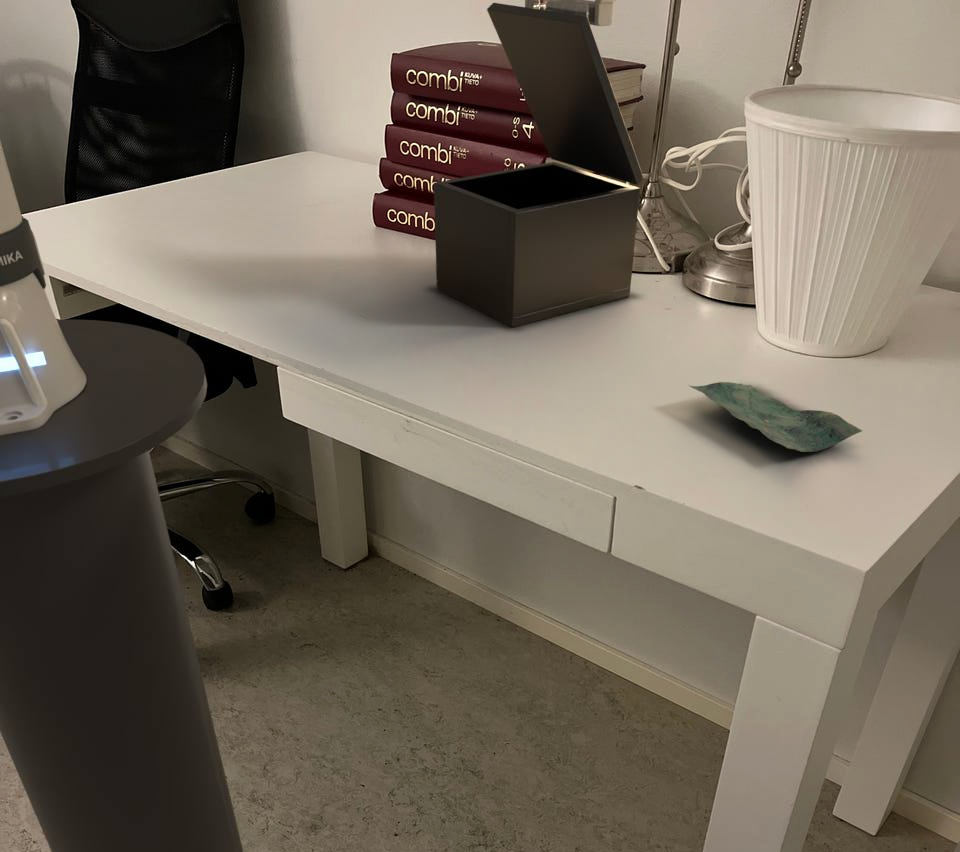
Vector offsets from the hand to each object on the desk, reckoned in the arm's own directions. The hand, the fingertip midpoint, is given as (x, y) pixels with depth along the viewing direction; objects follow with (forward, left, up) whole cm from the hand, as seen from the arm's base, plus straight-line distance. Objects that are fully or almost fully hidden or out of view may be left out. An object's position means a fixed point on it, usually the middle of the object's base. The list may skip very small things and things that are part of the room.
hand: (567, 20), depth 91 cm
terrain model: (-7, -37, -25) cm, 45 cm away
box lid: (0, 0, -7) cm, 7 cm away
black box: (-3, 0, -25) cm, 25 cm away
